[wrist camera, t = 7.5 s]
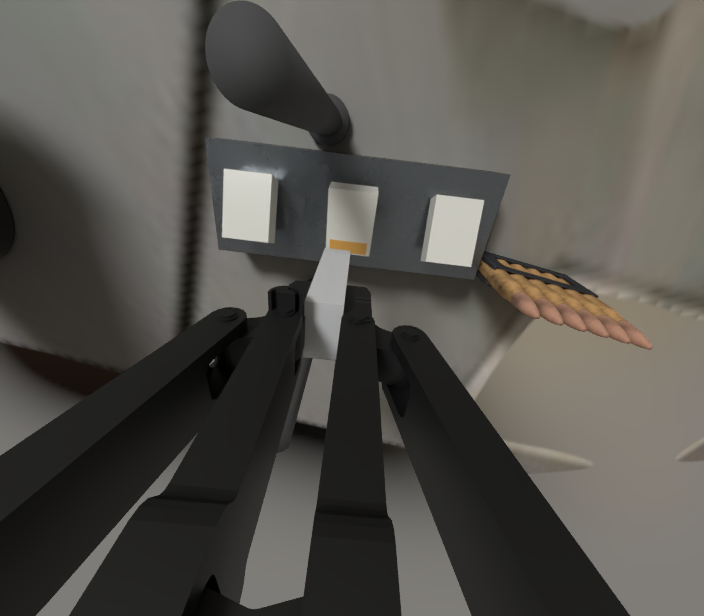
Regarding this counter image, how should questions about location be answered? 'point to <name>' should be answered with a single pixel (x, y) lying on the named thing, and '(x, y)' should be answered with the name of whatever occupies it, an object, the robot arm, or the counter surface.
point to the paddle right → (452, 230)
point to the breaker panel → (387, 174)
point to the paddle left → (249, 206)
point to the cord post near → (269, 73)
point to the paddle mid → (351, 217)
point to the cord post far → (295, 402)
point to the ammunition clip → (555, 299)
